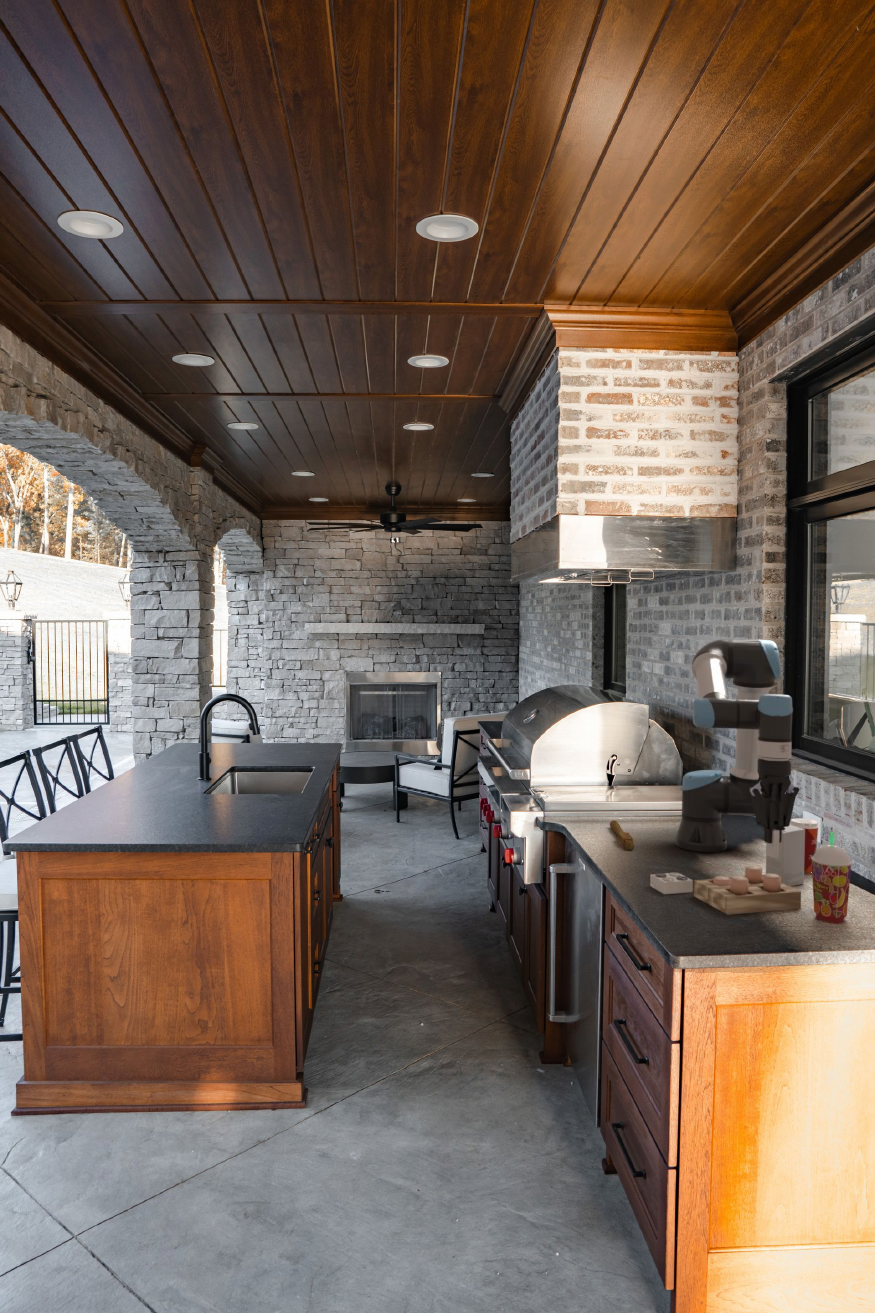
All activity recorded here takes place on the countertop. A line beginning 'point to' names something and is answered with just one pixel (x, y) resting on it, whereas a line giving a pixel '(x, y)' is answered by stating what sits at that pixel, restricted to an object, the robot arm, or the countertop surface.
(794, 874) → the skincare box
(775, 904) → the board
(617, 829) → the tap handle
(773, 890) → the button
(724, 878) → the button
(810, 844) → the paper cup
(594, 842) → the countertop surface
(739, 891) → the button
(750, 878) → the button
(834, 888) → the smoothie
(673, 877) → the white flat block
